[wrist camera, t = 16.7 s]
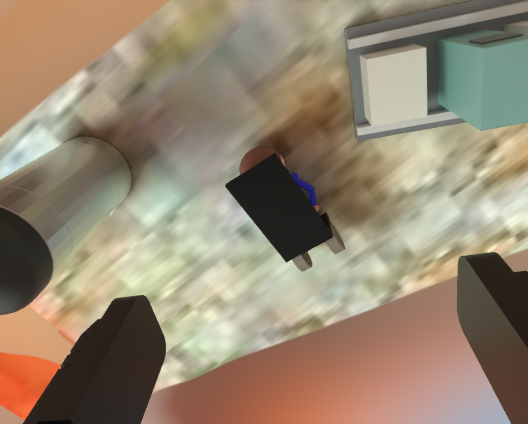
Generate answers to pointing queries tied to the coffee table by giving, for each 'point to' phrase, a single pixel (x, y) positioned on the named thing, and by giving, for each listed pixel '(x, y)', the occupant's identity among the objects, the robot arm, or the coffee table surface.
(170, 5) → the coffee table surface
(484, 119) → the block
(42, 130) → the coffee table surface
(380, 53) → the mounted blocks
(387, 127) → the rail board
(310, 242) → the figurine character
